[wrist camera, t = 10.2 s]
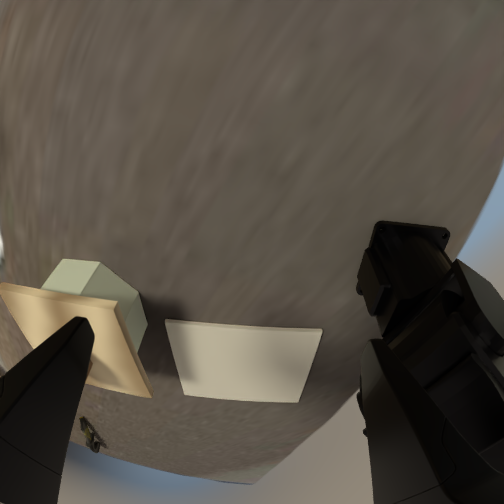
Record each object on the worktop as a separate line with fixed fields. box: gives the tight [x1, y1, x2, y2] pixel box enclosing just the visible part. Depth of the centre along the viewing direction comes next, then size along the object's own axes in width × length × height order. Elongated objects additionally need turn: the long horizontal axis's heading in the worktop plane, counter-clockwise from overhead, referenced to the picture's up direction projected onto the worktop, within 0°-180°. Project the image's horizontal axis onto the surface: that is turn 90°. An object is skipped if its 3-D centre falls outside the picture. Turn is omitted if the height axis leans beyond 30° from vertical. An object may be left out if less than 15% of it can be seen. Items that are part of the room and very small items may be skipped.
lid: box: [0, 282, 154, 398], centre depth 20 cm, size 12×12×5 cm
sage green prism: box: [41, 259, 148, 352], centre depth 24 cm, size 10×10×5 cm
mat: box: [165, 319, 322, 402], centre depth 30 cm, size 14×14×1 cm
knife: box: [79, 417, 100, 453], centre depth 52 cm, size 23×2×5 cm, turn 164°
